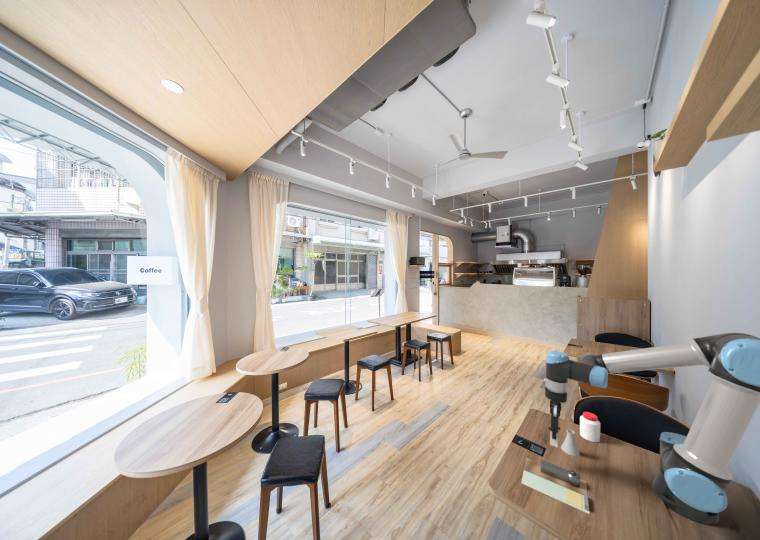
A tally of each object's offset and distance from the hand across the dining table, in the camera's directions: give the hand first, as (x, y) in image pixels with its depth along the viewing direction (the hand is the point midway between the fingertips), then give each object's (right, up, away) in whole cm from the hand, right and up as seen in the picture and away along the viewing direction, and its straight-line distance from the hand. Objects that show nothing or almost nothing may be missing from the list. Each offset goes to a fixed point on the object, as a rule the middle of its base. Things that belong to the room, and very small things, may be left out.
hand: (553, 444), depth 105 cm
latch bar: (-2, -8, -7) cm, 11 cm away
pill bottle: (+31, -10, +19) cm, 38 cm away
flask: (+13, -10, +8) cm, 18 cm away
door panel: (-9, -9, -13) cm, 18 cm away
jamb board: (-4, -9, -6) cm, 11 cm away
